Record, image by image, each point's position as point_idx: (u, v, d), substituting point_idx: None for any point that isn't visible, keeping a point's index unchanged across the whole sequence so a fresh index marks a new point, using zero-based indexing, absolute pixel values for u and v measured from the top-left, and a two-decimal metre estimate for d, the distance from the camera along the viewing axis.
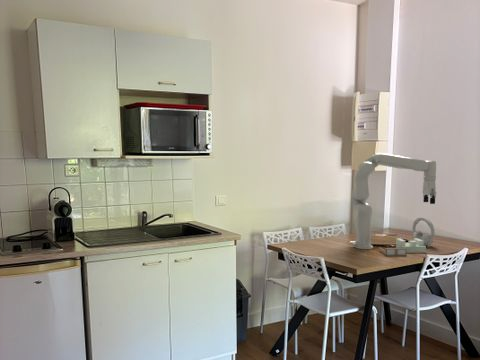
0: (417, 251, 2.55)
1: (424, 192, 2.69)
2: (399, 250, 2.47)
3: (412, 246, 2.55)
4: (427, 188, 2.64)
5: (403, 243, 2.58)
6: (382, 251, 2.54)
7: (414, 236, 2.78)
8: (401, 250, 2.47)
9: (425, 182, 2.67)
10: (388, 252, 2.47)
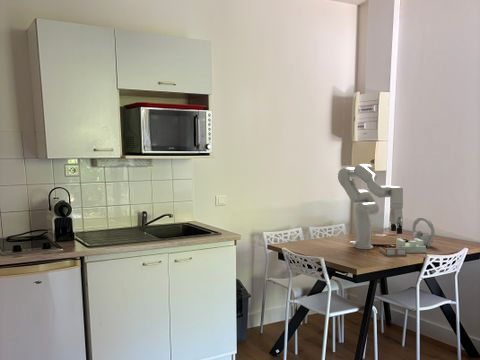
0: (417, 251, 2.55)
1: (391, 220, 2.48)
2: (399, 250, 2.47)
3: (412, 246, 2.55)
4: (393, 217, 2.44)
5: (403, 243, 2.58)
6: (382, 251, 2.54)
7: (414, 236, 2.78)
8: (401, 250, 2.47)
9: (392, 210, 2.47)
10: (388, 252, 2.47)
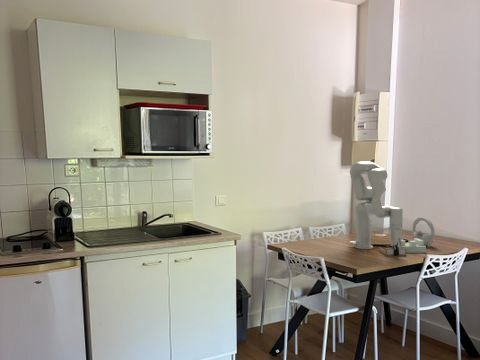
0: (417, 251, 2.55)
1: (390, 241, 2.49)
2: (399, 250, 2.47)
3: (412, 246, 2.55)
4: (393, 238, 2.45)
5: (403, 243, 2.58)
6: (382, 251, 2.54)
7: (414, 236, 2.78)
8: (401, 250, 2.47)
9: (391, 230, 2.48)
10: (388, 252, 2.47)
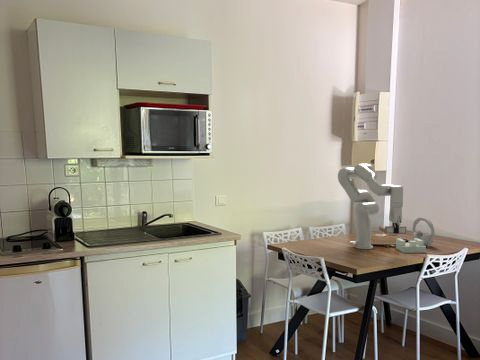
0: (417, 251, 2.55)
1: (390, 219, 2.48)
2: (399, 228, 2.47)
3: (412, 246, 2.55)
4: (393, 215, 2.44)
5: (403, 243, 2.58)
6: (382, 229, 2.53)
7: (414, 236, 2.78)
8: (401, 228, 2.47)
9: (391, 209, 2.47)
10: (388, 230, 2.47)
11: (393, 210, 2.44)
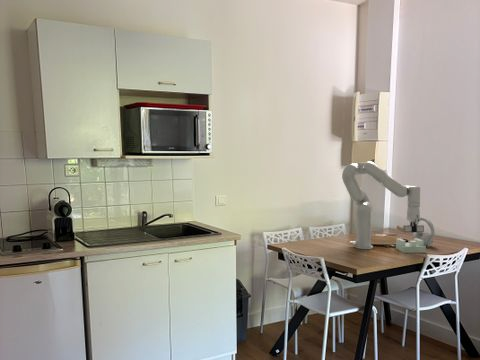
0: (417, 251, 2.55)
1: (408, 218, 2.57)
2: (417, 227, 2.56)
3: (412, 246, 2.55)
4: (411, 215, 2.53)
5: (403, 243, 2.58)
6: (400, 229, 2.62)
7: (414, 236, 2.78)
8: (419, 227, 2.56)
9: (409, 208, 2.56)
10: (406, 229, 2.56)
11: (411, 209, 2.53)
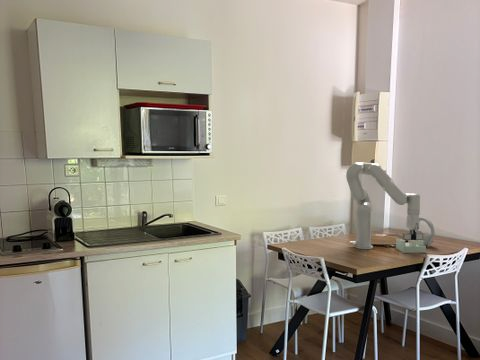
0: (417, 251, 2.55)
1: (408, 226, 2.58)
2: (416, 235, 2.56)
3: (412, 246, 2.55)
4: (410, 223, 2.53)
5: (403, 243, 2.58)
6: (399, 236, 2.63)
7: None
8: (418, 235, 2.56)
9: (409, 216, 2.56)
10: (406, 236, 2.56)
11: (410, 217, 2.54)
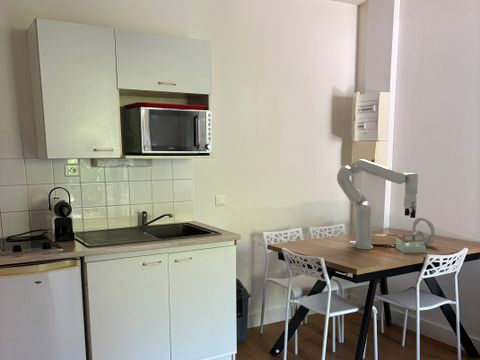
0: (417, 251, 2.55)
1: (405, 205, 2.60)
2: (416, 236, 2.56)
3: (412, 246, 2.55)
4: (408, 201, 2.55)
5: (403, 243, 2.58)
6: (399, 237, 2.62)
7: None
8: (418, 236, 2.56)
9: (406, 195, 2.58)
10: (406, 238, 2.56)
11: (408, 196, 2.56)
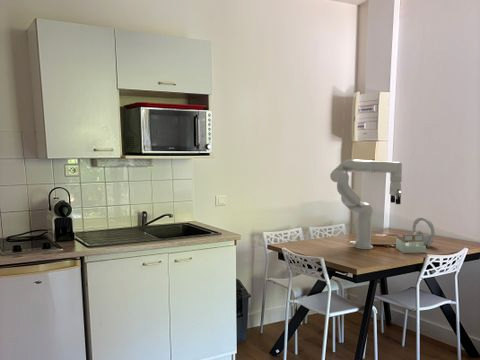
0: (417, 251, 2.55)
1: (390, 193, 2.75)
2: (416, 236, 2.56)
3: (412, 246, 2.55)
4: (393, 189, 2.71)
5: (403, 243, 2.58)
6: (399, 237, 2.62)
7: None
8: (418, 236, 2.56)
9: (391, 183, 2.74)
10: (406, 238, 2.56)
11: (393, 184, 2.71)
